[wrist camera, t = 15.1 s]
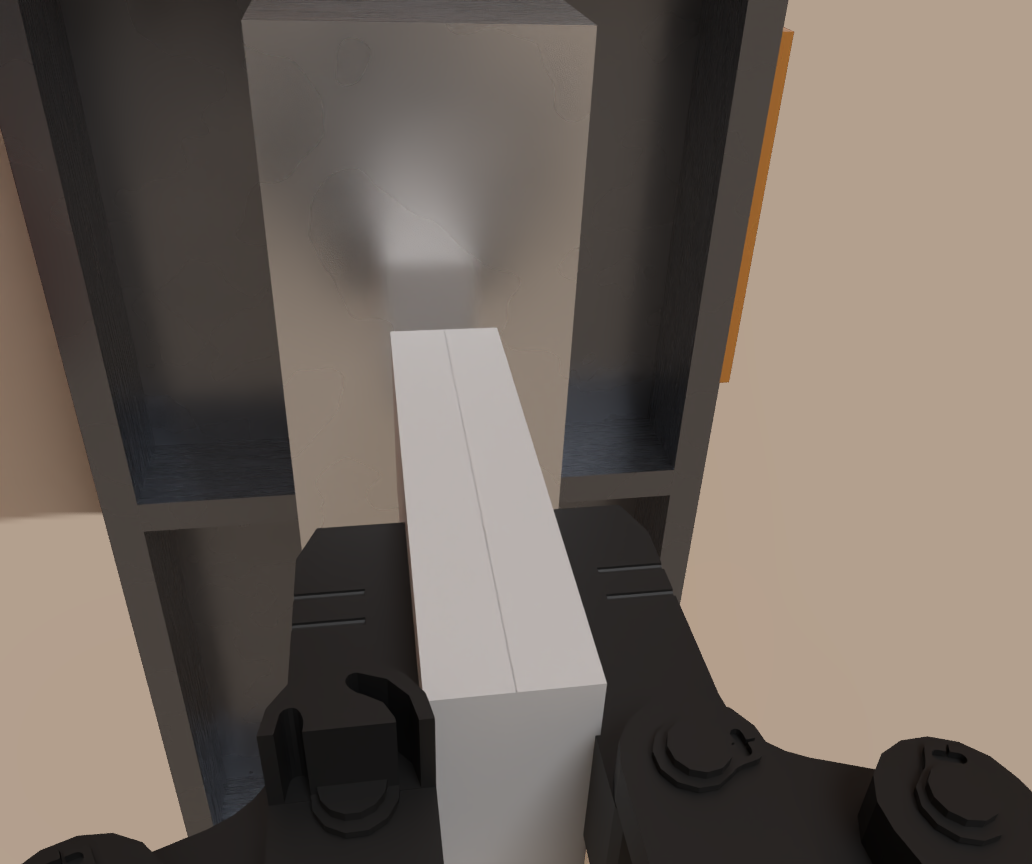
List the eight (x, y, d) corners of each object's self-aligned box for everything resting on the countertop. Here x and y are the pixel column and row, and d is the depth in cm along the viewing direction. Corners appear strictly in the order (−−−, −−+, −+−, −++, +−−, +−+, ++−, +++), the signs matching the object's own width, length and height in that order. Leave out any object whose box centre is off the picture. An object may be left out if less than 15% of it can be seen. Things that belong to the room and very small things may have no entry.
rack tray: (208, 771, 32) (195, 865, 29) (-12, -190, 17) (-84, -193, 14) (627, 725, 34) (654, 808, 31) (762, -156, 19) (837, -153, 16)
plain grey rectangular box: (318, 392, 23) (308, 614, 17) (278, -50, 18) (241, 19, 11) (493, 384, 24) (551, 594, 17) (506, -44, 19) (597, 25, 12)
